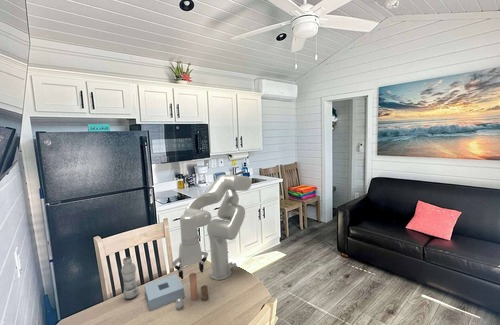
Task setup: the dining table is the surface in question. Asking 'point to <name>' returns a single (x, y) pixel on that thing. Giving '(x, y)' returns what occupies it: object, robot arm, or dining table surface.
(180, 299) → the short pin
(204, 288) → the mid pin
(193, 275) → the long pin
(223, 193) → the robot arm
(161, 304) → the hole block
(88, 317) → the dining table surface
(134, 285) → the plastic bottle
